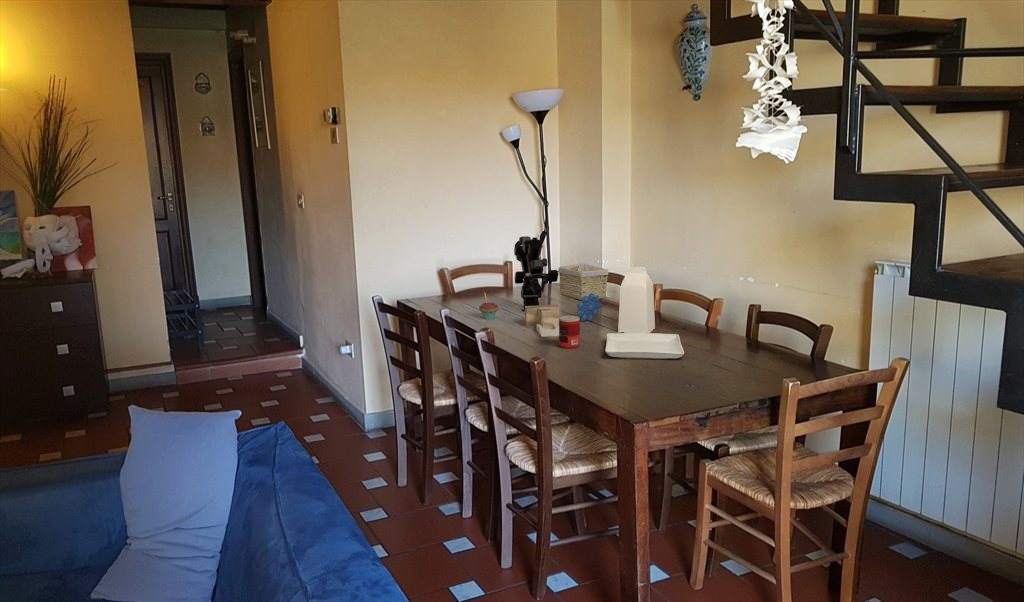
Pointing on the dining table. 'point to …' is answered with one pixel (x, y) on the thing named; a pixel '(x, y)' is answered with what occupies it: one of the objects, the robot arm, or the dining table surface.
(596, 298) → the grapes
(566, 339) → the canned food
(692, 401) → the dining table surface
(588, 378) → the dining table surface
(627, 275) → the milk
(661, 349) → the square plate
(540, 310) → the t block
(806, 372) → the dining table surface
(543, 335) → the slot guide
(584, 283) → the storage basket
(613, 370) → the dining table surface
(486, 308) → the cupcake
